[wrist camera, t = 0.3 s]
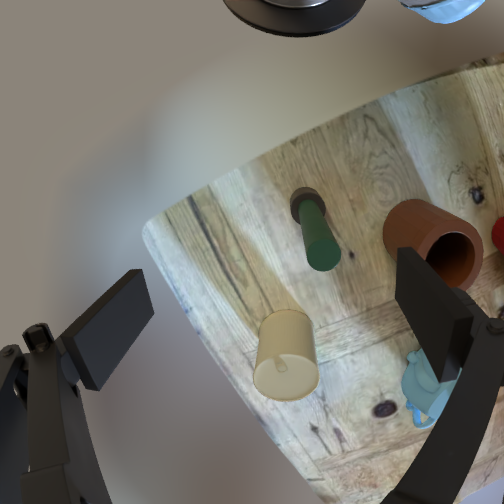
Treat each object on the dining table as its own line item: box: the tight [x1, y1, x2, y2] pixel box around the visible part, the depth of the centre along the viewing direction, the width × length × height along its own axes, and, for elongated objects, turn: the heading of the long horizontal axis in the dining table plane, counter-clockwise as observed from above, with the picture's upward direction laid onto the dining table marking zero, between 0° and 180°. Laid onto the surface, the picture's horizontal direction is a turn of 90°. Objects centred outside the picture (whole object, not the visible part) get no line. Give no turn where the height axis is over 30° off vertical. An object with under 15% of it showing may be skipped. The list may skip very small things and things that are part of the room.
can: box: [253, 310, 320, 402], centre depth 46 cm, size 9×9×12 cm
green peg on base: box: [290, 187, 341, 272], centre depth 34 cm, size 4×4×22 cm
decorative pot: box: [401, 348, 462, 429], centre depth 44 cm, size 16×16×14 cm
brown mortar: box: [383, 199, 484, 291], centre depth 38 cm, size 10×10×13 cm
